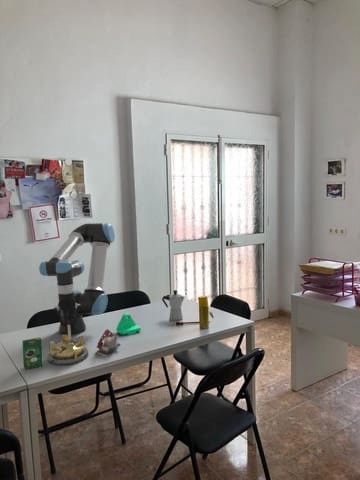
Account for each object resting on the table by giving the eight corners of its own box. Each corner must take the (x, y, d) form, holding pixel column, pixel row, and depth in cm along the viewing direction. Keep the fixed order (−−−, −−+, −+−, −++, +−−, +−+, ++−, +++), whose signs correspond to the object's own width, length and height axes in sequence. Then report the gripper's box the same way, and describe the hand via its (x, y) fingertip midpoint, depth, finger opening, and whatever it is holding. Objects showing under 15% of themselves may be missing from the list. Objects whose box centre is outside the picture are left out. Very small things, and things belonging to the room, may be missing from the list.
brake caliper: (108, 339, 204) (116, 324, 198) (119, 356, 198) (127, 341, 192) (90, 346, 196) (97, 330, 189) (101, 363, 190) (109, 348, 184)
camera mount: (122, 336, 215) (121, 318, 214) (116, 332, 221) (115, 315, 220) (141, 332, 221) (140, 314, 220) (135, 328, 228) (134, 311, 226)
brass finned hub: (52, 362, 178) (51, 348, 177) (48, 349, 192) (47, 337, 191) (87, 355, 184) (87, 342, 183) (81, 344, 199) (80, 331, 198)
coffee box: (42, 363, 182) (40, 336, 180) (43, 365, 179) (41, 338, 178) (23, 367, 178) (21, 340, 176) (24, 370, 175) (22, 342, 174)
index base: (38, 360, 185) (38, 350, 185) (69, 346, 201) (68, 337, 201) (66, 368, 175) (66, 358, 175) (96, 353, 191) (95, 344, 191)
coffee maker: (186, 316, 247) (186, 288, 245) (185, 320, 238) (184, 292, 236) (163, 316, 249) (162, 288, 247) (161, 320, 240) (160, 292, 238)
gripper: (52, 295, 186) (56, 343, 189) (79, 292, 190) (83, 339, 193) (52, 292, 194) (56, 337, 196) (79, 289, 197) (82, 334, 200)
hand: (69, 338), depth 195 cm, fingers closed
